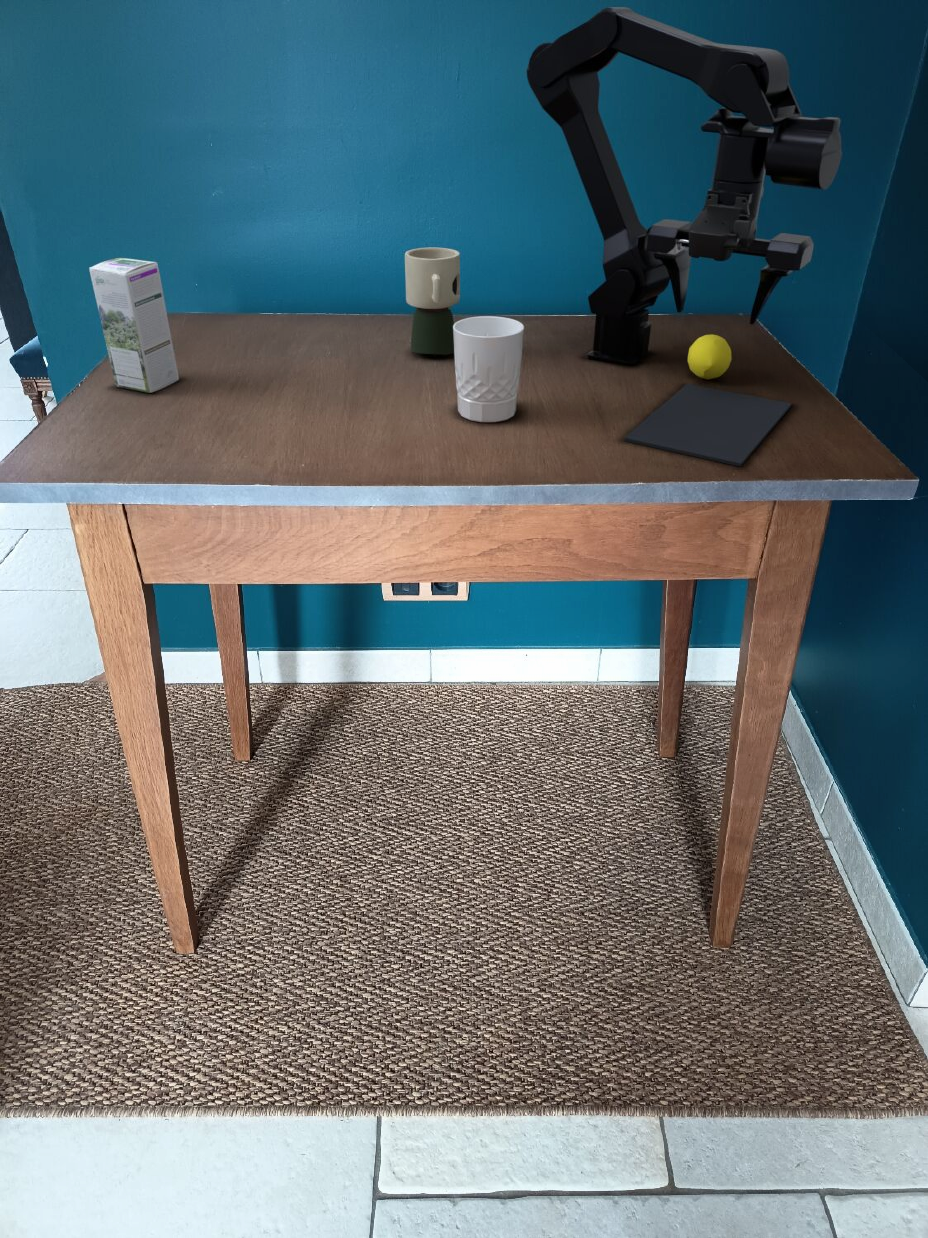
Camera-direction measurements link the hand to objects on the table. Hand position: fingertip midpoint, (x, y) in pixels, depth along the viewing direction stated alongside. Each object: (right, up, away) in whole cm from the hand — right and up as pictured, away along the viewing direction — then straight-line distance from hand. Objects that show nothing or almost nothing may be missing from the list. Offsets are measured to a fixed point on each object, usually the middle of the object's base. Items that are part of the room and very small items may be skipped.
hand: (715, 317), depth 113 cm
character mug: (-35, -1, +12) cm, 37 cm away
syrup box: (-71, -8, +2) cm, 71 cm away
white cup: (-28, -13, -6) cm, 32 cm away
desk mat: (-3, -15, -8) cm, 17 cm away
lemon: (0, -6, +4) cm, 8 cm away
